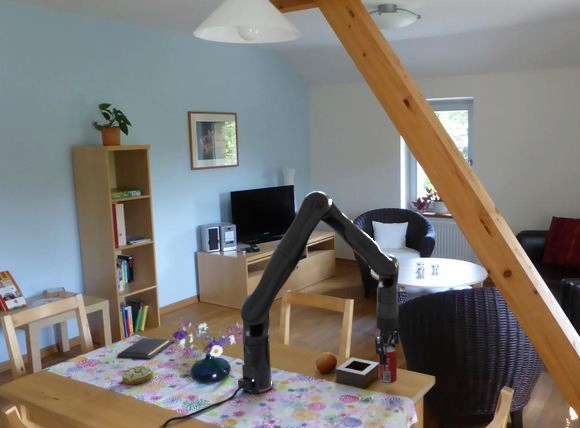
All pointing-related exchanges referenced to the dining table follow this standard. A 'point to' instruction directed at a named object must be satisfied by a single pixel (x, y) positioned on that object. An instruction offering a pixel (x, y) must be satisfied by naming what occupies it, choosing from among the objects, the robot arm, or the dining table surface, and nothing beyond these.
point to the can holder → (357, 372)
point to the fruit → (326, 362)
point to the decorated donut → (137, 374)
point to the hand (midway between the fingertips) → (387, 360)
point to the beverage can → (388, 367)
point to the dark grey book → (145, 348)
